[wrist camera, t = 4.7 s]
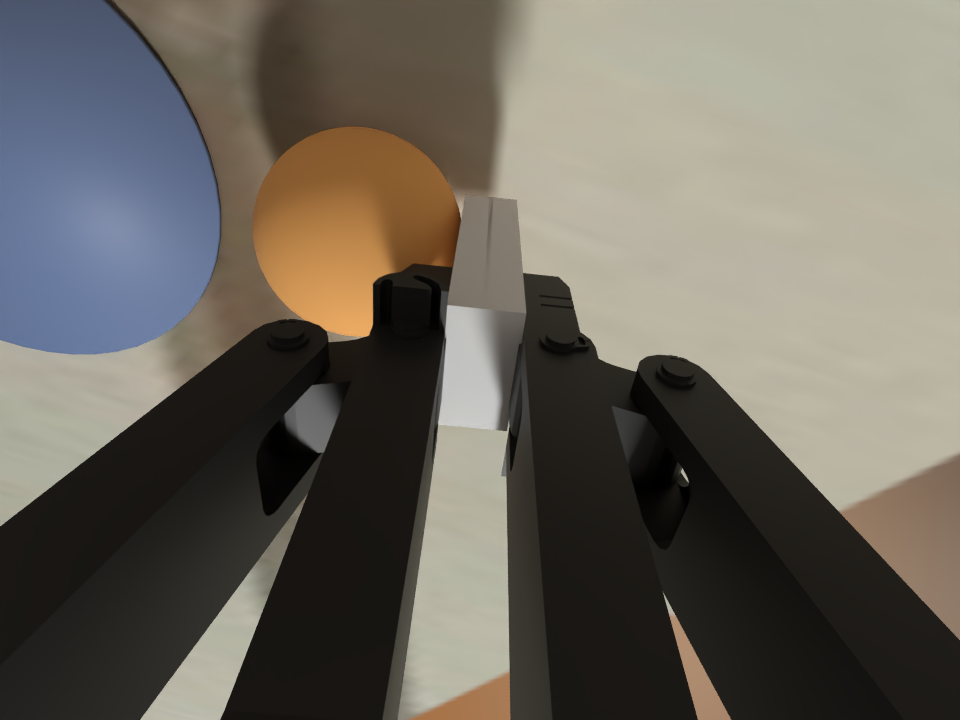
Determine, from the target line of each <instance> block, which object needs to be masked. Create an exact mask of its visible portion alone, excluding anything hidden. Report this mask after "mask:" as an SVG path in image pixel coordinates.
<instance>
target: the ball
mask: <svg viewBox="0 0 960 720" xmlns="http://www.w3.org/2000/svg"><path fill="white" fill-rule="evenodd" d="M460 224H461V217H460V212H459V208H458V205H457V202H456V199H455V197H454V194H453V192H452V189H451V187H450V186H449V184H448V182H447V180H446V179H445V177H444V176H443V174H442V173H441V172H440V170H439V169H438V167H437V166H436V165H435V164H434V163H433V162H432V161H431V160H430V159H429V158H428V157H427V156H426V155H425V154H424V153H423V152H421V151H420V150H419V149H417V148H416V147H415V146H413V145H412V144H410V143H409V142H407V141H405V140H403V139H401V138H399V137H397V136H395V135H393V134H390V133H387V132H385V131H381V130H376V129H371V128H366V127H352V126H350V127H340V128H333V129H329V130H325V131H321V132H318V133H316V134H313V135H311V136H309V137H306V138H305V139H303V140H302V141H300V142H298V143H297V144H295V145H294V146H292V147H291V148H290V149H289V150H287V151H286V152H285V153H284V154H283V155H282V156H281V157H280V158H279V159H278V160H277V162H276V163H275V164H274V165H273V166H272V168H271V169H270V171H269V172H268V174H267V176H266V177H265V179H264V181H263V183H262V185H261V188H260V190H259V193H258V195H257V199H256V203H255V208H254V213H253V240H254V246H255V250H256V255H257V258H258V262H259V265H260V267H261V270H262V272H263V274H264V275H265V277H266V279H267V281H268V283H269V285H270V286H271V288H272V289H273V290H274V292H275V293H276V294H277V296H278V297H279V298H280V299H281V300H282V301H283V302H284V303H285V304H286V305H287V306H288V307H289V308H290V309H291V310H292V311H293V312H295V313H296V314H297V315H299V316H300V317H301V318H303V319H304V320H306V321H309V322H312V323H314V324H317V325H320V326H321V327H322V328H323V329H324V330H327V331H330V332H334V333H338V334H342V335H348V336H369V334H370V331H371V329H372V326H373V283H374V282H375V281H376V280H377V279H378V278H379V277H382V276H384V275H387V274H390V273H397V272H401V271H403V270H404V269H406V268H407V267H409V266H410V265H412V264H413V263H416V264H425V265H435V266H444V267H453V265H454V259H455V253H456V247H457V242H458V236H459V230H460Z"/></svg>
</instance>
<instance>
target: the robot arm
mask: <svg viewBox="0 0 960 720" xmlns="http://www.w3.org/2000/svg"><path fill="white" fill-rule="evenodd" d="M508 421H509V425H510V427H509V433H508V439H507V445H506V451H505V457H504V463H503V469H502V475H501V476H505V477H507V535H508V595H509V655H510V713H511V720H698V719H697V715H696V711H695V708H694V704H693V700H692V697H691V693H690V689H689V686H688V682H687V679H686V675H685V672H684V668H683V664H682V660H681V657H680V653H679V650H678V646H677V642H676V639H675V635H674V631H673V628H672V624H671V620H670V617H669V613H668V609H667V606H666V602H665V599H664V595H663V592H664V594H665V596H666V598H667V600H668V602H669V604H670V606H671V607H672V609H673V611H674V613H675V615H676V617H677V618H678V620H679V622H680V624H681V626H682V628H683V630H684V631H685V634H686V636H687V637H688V639H689V641H690V643H691V645H692V647H693V648H694V650H695V652H696V654H697V656H698V658H699V660H700V662H701V664H702V665H703V667H704V669H705V671H706V673H707V675H708V677H709V679H710V680H711V682H712V684H713V686H714V688H715V690H716V691H717V693H718V695H719V697H720V699H721V701H722V703H723V705H724V706H725V708H726V710H727V712H728V714H729V716H730V718H731V720H960V640H959V639H958V638H957V637H956V636H955V635H954V634H953V633H952V632H951V631H950V629H948V627H947V626H946V625H945V624H944V623H943V622H942V621H941V620H940V619H939V618H938V617H937V616H936V615H935V614H934V612H933V611H932V610H931V609H930V608H929V607H928V606H927V605H926V604H925V603H924V602H923V601H922V600H921V599H920V598H919V597H918V595H917V594H916V593H915V592H914V591H913V590H912V589H911V588H910V587H909V586H908V585H907V584H906V583H905V582H904V581H903V580H902V578H901V577H900V576H899V575H898V574H897V573H896V572H895V571H894V570H893V569H892V568H891V567H890V566H889V565H888V564H887V563H886V561H885V560H884V559H883V558H882V557H881V556H880V555H879V554H878V553H877V552H876V551H875V550H874V549H873V548H872V547H871V546H870V544H869V543H868V542H867V541H866V540H865V539H864V538H863V537H862V536H861V535H860V534H859V533H858V532H857V531H856V530H855V529H854V528H853V526H852V525H851V524H850V523H849V522H848V521H847V520H846V519H845V518H844V517H843V516H842V515H841V514H840V513H839V512H838V510H837V509H836V508H835V507H834V506H833V505H832V504H831V503H830V502H829V501H828V500H827V499H826V498H825V497H824V496H823V495H822V493H821V492H820V491H819V490H818V489H817V488H816V487H815V486H814V485H813V484H812V483H811V482H810V481H809V480H808V479H807V477H806V476H805V475H804V474H803V473H802V472H801V471H800V470H799V469H798V468H797V467H796V466H795V465H794V464H793V463H792V462H791V460H790V459H789V458H788V457H787V456H786V455H785V454H784V453H783V452H782V451H781V450H780V449H779V448H778V447H777V446H776V445H775V443H774V442H773V441H772V440H771V439H770V438H769V437H768V436H767V435H766V434H765V433H764V432H763V431H762V430H761V429H760V428H759V426H758V425H757V424H756V423H755V422H754V421H753V420H752V419H751V418H750V417H749V416H748V415H747V414H746V413H745V412H744V411H743V409H742V408H741V407H740V406H739V405H738V404H737V403H736V402H735V401H734V400H733V399H732V398H731V397H730V396H729V395H728V394H727V392H726V391H725V390H724V389H723V388H722V387H721V386H720V385H719V384H718V383H717V382H716V381H715V380H714V379H713V378H712V377H711V375H710V374H708V373H707V372H706V371H705V370H703V369H702V368H701V367H700V366H698V365H696V364H694V363H692V362H690V361H688V360H687V359H684V358H681V357H679V358H678V357H677V356H672V355H669V356H667V355H654V356H648V357H646V358H644V359H643V360H641V361H640V362H639V365H638V369H637V372H634V371H631V370H627V369H624V368H620V367H617V366H614V365H611V364H608V363H606V362H604V361H602V360H600V359H598V355H597V351H596V348H595V346H594V344H593V343H592V341H591V340H590V339H589V338H588V337H586V336H585V335H584V334H582V333H580V330H579V326H578V322H577V317H576V313H575V309H574V305H573V301H572V297H571V292H570V288H569V287H568V286H567V285H566V284H565V283H564V282H563V281H562V280H561V279H560V278H559V277H554V276H545V275H535V274H526V273H523V268H522V256H521V245H520V233H519V221H518V210H517V200H512V199H503V198H493V197H484V196H475V195H465V200H464V206H463V212H462V218H461V224H460V230H459V236H458V242H457V247H456V253H455V259H454V265H453V267H444V266H435V265H425V264H416V263H413V264H412V265H410V266H409V267H407V268H406V269H404V270H403V271H401V272H397V273H390V274H387V275H384V276H382V277H379V278H378V279H377V280H376V281H375V282H374V283H373V326H372V329H371V331H370V334H369V336H367V337H363V338H360V339H356V340H350V341H340V342H328V335H327V332H326V331H325V330H324V329H323V328H322V327H321V326H320V325H317V324H314V323H312V322H309V321H302V320H297V319H289V320H287V319H284V320H278V321H275V322H272V323H268V324H265V325H263V326H261V327H259V328H257V329H255V330H254V331H252V332H251V333H250V334H248V335H247V336H246V337H245V338H243V339H242V340H241V341H239V342H238V343H237V344H236V345H234V346H233V347H232V348H230V349H229V350H228V351H226V352H225V353H224V354H223V355H221V356H220V357H219V358H217V359H216V360H215V361H214V362H212V363H211V364H210V365H208V366H207V367H206V368H204V369H203V370H202V371H201V372H199V373H198V374H197V375H195V376H194V377H193V378H192V379H190V380H189V381H188V382H186V383H185V384H184V385H183V386H181V387H180V388H179V389H177V390H176V391H175V392H173V393H172V394H171V395H170V396H168V397H167V398H166V399H164V400H163V401H162V402H161V403H159V404H158V405H157V406H155V407H154V408H153V409H151V410H150V411H149V412H148V413H146V414H145V415H144V416H142V417H141V418H140V419H139V420H137V421H136V422H135V423H133V424H132V425H131V426H130V427H128V428H127V429H126V430H124V431H123V432H122V433H120V434H119V435H118V436H117V437H115V438H114V439H113V440H111V441H110V442H109V443H108V444H106V445H105V446H104V447H102V448H101V449H100V450H99V451H97V452H96V453H95V454H93V455H92V456H91V457H89V458H88V459H87V460H86V461H84V462H83V463H82V464H80V465H79V466H78V467H77V468H75V469H74V470H73V471H71V472H70V473H69V474H67V475H66V476H65V477H64V478H62V479H61V480H60V481H58V482H57V483H56V484H55V485H53V486H52V487H51V488H49V489H48V490H47V491H46V492H44V493H43V494H42V495H40V496H39V497H38V498H36V499H35V500H34V501H33V502H31V503H30V504H29V505H27V506H26V507H25V508H24V509H22V510H21V511H20V512H18V513H17V514H16V515H14V516H13V517H12V518H11V519H9V520H8V521H7V522H5V523H4V524H3V525H2V526H0V720H140V719H141V718H142V716H143V715H144V714H145V712H146V711H147V710H148V708H149V707H150V705H151V704H152V703H153V701H154V700H155V699H156V697H157V696H158V695H159V693H160V692H161V691H162V689H163V688H164V687H165V685H166V684H167V682H168V681H169V680H170V678H171V677H172V676H173V674H174V673H175V672H176V670H177V669H178V668H179V666H180V665H181V664H182V662H183V661H184V660H185V658H186V657H187V655H188V654H189V653H190V651H191V650H192V649H193V647H194V646H195V645H196V643H197V642H198V641H199V639H200V638H201V637H202V635H203V634H204V633H205V631H206V630H207V628H208V627H209V626H210V624H211V623H212V622H213V620H214V619H215V618H216V616H217V615H218V614H219V612H220V611H221V610H222V608H223V607H224V605H225V604H226V603H227V601H228V600H229V599H230V597H231V596H232V595H233V593H234V592H235V591H236V589H237V588H238V587H239V585H240V584H241V583H242V581H243V580H244V578H245V577H246V576H247V574H248V573H249V572H250V570H251V569H252V568H253V566H254V565H255V564H256V562H257V561H258V560H259V558H260V557H261V555H262V554H263V553H264V551H265V550H266V549H267V547H268V546H269V545H270V543H271V542H272V541H273V539H274V538H275V537H276V535H277V534H278V533H279V531H280V530H281V528H282V527H283V526H284V524H285V523H286V522H287V520H288V519H289V518H290V516H291V515H292V514H293V512H294V511H295V510H296V508H297V507H298V505H299V504H300V503H301V501H302V500H303V499H304V497H305V496H306V495H307V493H308V495H307V498H306V500H305V503H304V505H303V508H302V511H301V513H300V516H299V518H298V521H297V523H296V526H295V529H294V531H293V534H292V536H291V539H290V542H289V544H288V547H287V549H286V552H285V555H284V557H283V560H282V562H281V565H280V568H279V570H278V573H277V575H276V578H275V581H274V583H273V586H272V588H271V591H270V594H269V596H268V599H267V601H266V604H265V607H264V609H263V612H262V614H261V617H260V620H259V622H258V625H257V627H256V630H255V633H254V635H253V638H252V640H251V643H250V646H249V648H248V651H247V653H246V656H245V659H244V661H243V664H242V666H241V669H240V672H239V674H238V677H237V679H236V682H235V685H234V687H233V690H232V692H231V695H230V698H229V700H228V703H227V705H226V708H225V711H224V713H223V715H222V717H221V719H220V720H397V718H398V711H399V704H400V697H401V690H402V683H403V676H404V669H405V662H406V655H407V648H408V641H409V634H410V627H411V619H412V612H413V605H414V598H415V591H416V584H417V577H418V570H419V563H420V556H421V549H422V542H423V535H424V528H425V520H426V513H427V506H428V499H429V492H430V485H431V478H432V471H433V464H434V457H435V450H436V443H437V431H438V424H439V425H450V426H460V427H470V428H481V429H491V430H502V431H507V427H508ZM682 468H683V470H684V472H685V473H686V475H687V477H688V481H689V483H688V482H687V481H686V479H685V478H684V477H683V475H682V474H681V470H682Z"/></svg>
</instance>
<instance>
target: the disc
mask: <svg viewBox="0 0 960 720" xmlns="http://www.w3.org/2000/svg"><path fill="white" fill-rule="evenodd" d="M220 239H221V206H220V199H219V192H218V184H217V180H216V176H215V173H214V169H213V165H212V161H211V157H210V154H209V152H208V149H207V146H206V144H205V141H204V139H203V136H202V134H201V131H200V129H199V126H198V124H197V122H196V120H195V118H194V116H193V114H192V112H191V110H190V108H189V106H188V105H187V103H186V101H185V99H184V97H183V95H182V93H181V92H180V90H179V89H178V87H177V86H176V84H175V82H174V81H173V79H172V78H171V76H170V75H169V73H168V72H167V70H166V69H165V67H164V66H163V64H162V63H161V61H160V60H159V59H158V58H157V56H156V55H155V54H154V53H153V51H152V50H151V49H150V48H149V46H148V45H147V44H146V43H145V41H144V40H143V39H142V38H141V36H140V35H139V34H138V33H137V32H136V31H135V30H134V28H133V27H132V26H131V25H130V24H129V23H128V22H127V21H126V20H125V19H124V18H123V17H122V16H121V15H120V14H119V13H118V12H117V11H116V10H115V9H114V8H113V7H112V6H111V5H110V4H109V3H108V2H107V1H106V0H0V340H2V341H6V342H9V343H13V344H16V345H19V346H23V347H27V348H32V349H37V350H42V351H47V352H55V353H65V354H101V353H109V352H117V351H121V350H125V349H128V348H132V347H136V346H139V345H141V344H144V343H146V342H148V341H151V340H153V339H155V338H157V337H159V336H160V335H162V334H163V333H165V332H167V331H168V330H170V329H171V328H173V327H174V326H175V325H176V324H177V323H178V322H180V321H181V320H182V319H183V318H184V317H185V316H186V315H187V314H188V313H189V312H190V311H191V310H192V308H193V307H194V306H195V304H196V303H197V302H198V301H199V299H200V298H201V297H202V295H203V293H204V291H205V289H206V287H207V285H208V283H209V281H210V280H211V277H212V274H213V271H214V268H215V265H216V262H217V258H218V252H219V246H220Z"/></svg>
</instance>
